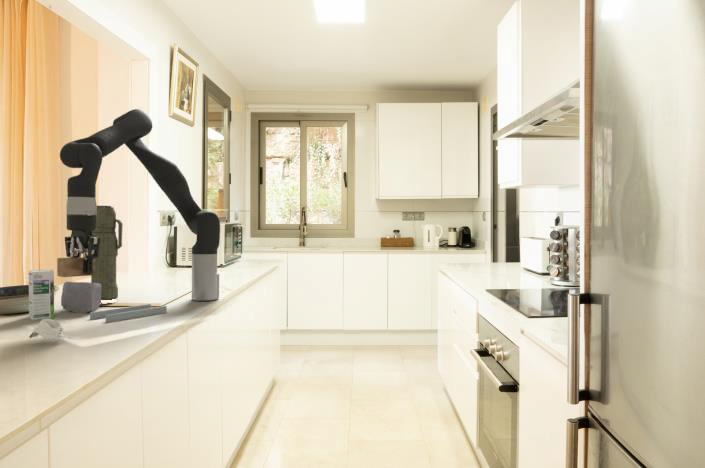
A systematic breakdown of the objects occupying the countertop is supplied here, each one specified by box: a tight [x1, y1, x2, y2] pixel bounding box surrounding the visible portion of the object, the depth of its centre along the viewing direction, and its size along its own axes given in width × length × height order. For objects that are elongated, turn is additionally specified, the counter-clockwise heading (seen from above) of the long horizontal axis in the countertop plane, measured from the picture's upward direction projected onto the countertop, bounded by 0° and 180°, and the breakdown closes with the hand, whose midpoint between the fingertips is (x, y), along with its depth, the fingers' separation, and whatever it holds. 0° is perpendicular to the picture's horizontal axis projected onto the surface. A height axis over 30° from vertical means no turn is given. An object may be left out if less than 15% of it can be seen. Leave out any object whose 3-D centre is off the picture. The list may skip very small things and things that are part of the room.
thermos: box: [90, 205, 124, 300], centre depth 172 cm, size 9×12×35 cm
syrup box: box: [28, 269, 55, 321], centre depth 146 cm, size 6×6×14 cm
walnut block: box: [56, 256, 95, 278], centre depth 137 cm, size 8×5×5 cm, turn 140°
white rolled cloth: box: [28, 318, 65, 340], centre depth 120 cm, size 8×7×5 cm
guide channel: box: [89, 303, 168, 323], centre depth 151 cm, size 20×9×2 cm, turn 149°
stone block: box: [60, 281, 101, 314], centre depth 156 cm, size 12×5×10 cm, turn 84°
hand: (82, 272), depth 138 cm, fingers closed on walnut block, 5 cm apart
